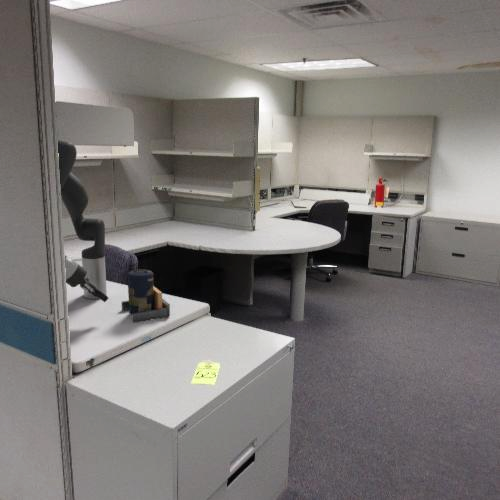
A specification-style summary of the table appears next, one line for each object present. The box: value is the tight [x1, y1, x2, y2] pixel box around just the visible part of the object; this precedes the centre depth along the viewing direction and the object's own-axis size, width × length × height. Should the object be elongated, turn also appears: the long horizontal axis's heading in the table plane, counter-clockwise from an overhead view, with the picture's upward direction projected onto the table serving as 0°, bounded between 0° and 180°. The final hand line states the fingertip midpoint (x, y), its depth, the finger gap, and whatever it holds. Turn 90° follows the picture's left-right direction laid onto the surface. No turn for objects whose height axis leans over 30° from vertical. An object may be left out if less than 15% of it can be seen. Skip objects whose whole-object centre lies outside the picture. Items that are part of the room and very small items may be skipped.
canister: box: [127, 268, 155, 316], centre depth 183 cm, size 10×10×18 cm
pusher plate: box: [154, 286, 163, 309], centre depth 186 cm, size 12×2×9 cm, turn 31°
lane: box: [121, 297, 171, 324], centre depth 185 cm, size 15×14×5 cm
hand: (106, 299), depth 176 cm, fingers closed
